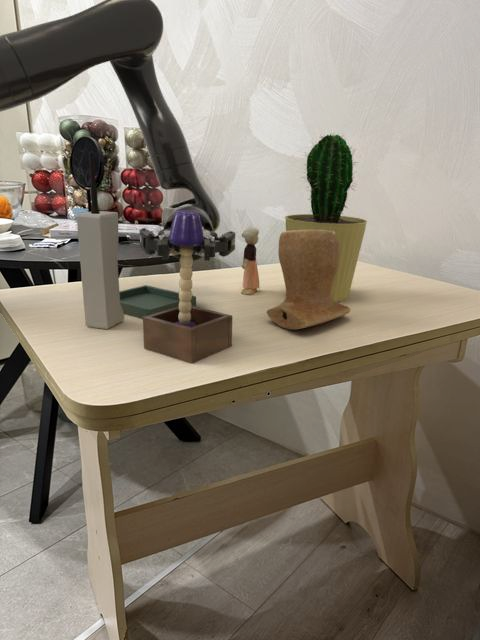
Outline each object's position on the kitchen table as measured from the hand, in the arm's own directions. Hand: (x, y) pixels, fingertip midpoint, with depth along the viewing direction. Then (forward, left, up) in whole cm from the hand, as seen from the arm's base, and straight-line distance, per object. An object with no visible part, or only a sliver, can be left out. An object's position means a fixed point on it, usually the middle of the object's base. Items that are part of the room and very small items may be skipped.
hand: (186, 251), depth 65 cm
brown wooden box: (-2, +2, -14) cm, 14 cm away
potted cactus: (-2, +41, -14) cm, 43 cm away
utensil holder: (-18, +2, -14) cm, 23 cm away
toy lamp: (-2, +2, -12) cm, 12 cm away
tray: (-21, +13, -14) cm, 28 cm away
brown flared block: (+4, +24, -14) cm, 28 cm away
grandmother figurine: (-14, +34, -14) cm, 39 cm away
